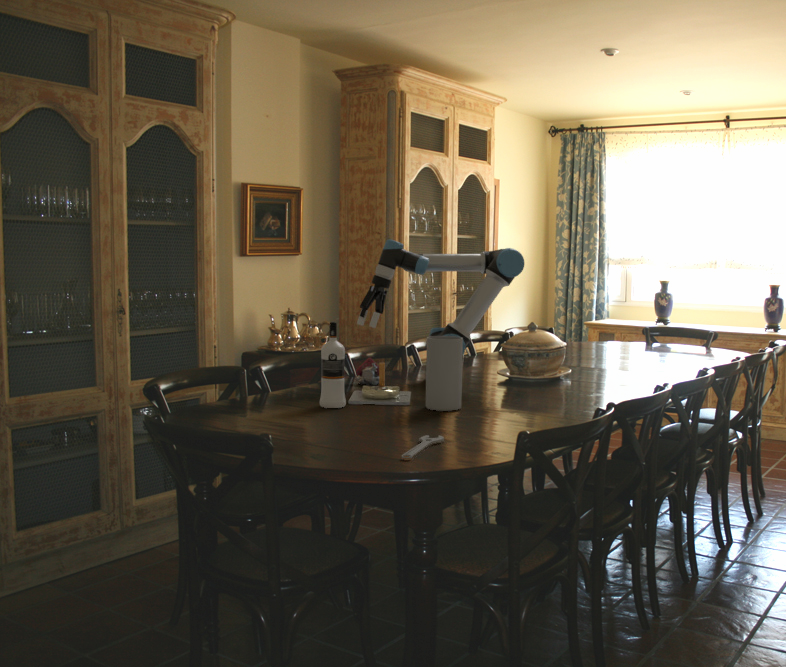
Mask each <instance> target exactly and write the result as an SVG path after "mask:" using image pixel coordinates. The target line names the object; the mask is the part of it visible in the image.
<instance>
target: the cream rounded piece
mask: <svg viewBox="0 0 786 667" xmlns="http://www.w3.org/2000/svg"><path fill="white" fill-rule="evenodd" d="M378 367H379V383H378V385H362V388H361V390H362V396H363V397H366V398H372V399H391V398H397V397H399V396H400V391H401V390H400V389H401V388H400V386H397V385H396V386H388V385H386V378H385V377H386V373H385V372H386V371H385V370H386V363H385V362H379V365H378Z"/></svg>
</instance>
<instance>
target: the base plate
mask: <svg viewBox="0 0 786 667" xmlns="http://www.w3.org/2000/svg"><path fill="white" fill-rule="evenodd" d="M411 397H412V391H409V390H408V391H404V390H402V391H401V390H400V396H399V397H397V398H391V399H372V398H366V397H363V396H362V389H361V390H357V389H356V390H354V391H353V392H352V394H351V396H350V398H349V399H348V401H347V402H348V405H363V404H375V406H410V405H411Z"/></svg>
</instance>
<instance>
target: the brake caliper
mask: <svg viewBox="0 0 786 667" xmlns="http://www.w3.org/2000/svg"><path fill="white" fill-rule="evenodd" d="M355 375H356V377H355V380H356V381H357V382H356V383H357V384H359V383H360V385H361V386H363V385H362V384H366V385H365V386H378V385H379V365H378V364H377V363H376V362H375V361H374V360H373V358H371V357H367V359H366V360H365V361H364V362H363V363H362V364H361V365H360V366H358V368H357V369H356V370H355ZM358 382H359V383H358ZM370 384H371V385H370ZM377 384H378V385H377Z"/></svg>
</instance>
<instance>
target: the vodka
mask: <svg viewBox="0 0 786 667" xmlns="http://www.w3.org/2000/svg"><path fill="white" fill-rule="evenodd" d="M337 328H338V322H336V321H330V322H329V333H328V334H329V336H328V337H329V340H328V341H327V342H326V343H324V344H323V345H322V346H321V347H320V348H321V349H320V351H321V352H320V353H321V354H320V355H321V356H320V359H321V378H320V381H321V388H320V390H321V391H320V392H321V393H320V399H319V406H320V407H321V408H323V407H324V408H323V409H327V408H338V409H343V408H344V407H345V406H346V404H347V399H346V394H345V380H346V378H345V358H346V356H345V355H346V349H345V346H344V345H343V344H342V343H341V342H340V341H338V336H337V334H338V329H337ZM342 407H343V408H342Z"/></svg>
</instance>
